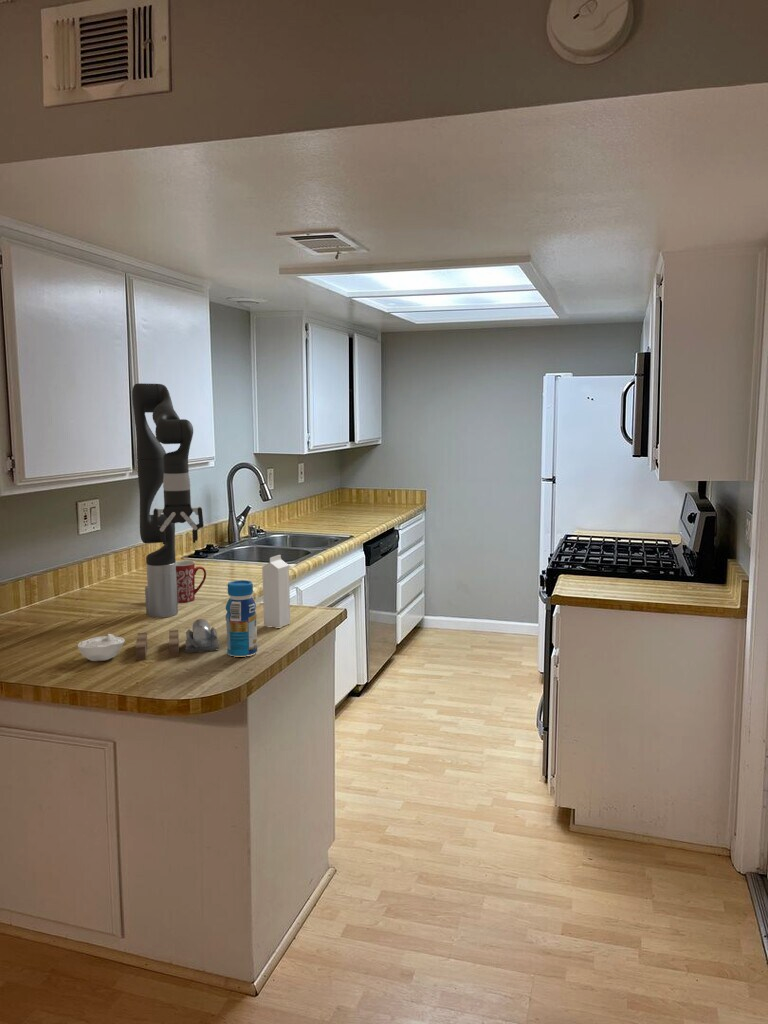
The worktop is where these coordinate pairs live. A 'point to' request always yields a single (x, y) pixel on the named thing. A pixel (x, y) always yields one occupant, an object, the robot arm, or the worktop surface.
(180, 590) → the mug
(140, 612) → the worktop surface
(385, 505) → the worktop surface
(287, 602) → the milk
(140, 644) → the slotted block
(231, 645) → the beverage bottle
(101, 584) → the worktop surface
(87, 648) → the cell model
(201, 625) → the grey metal cylinder
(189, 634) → the v block
